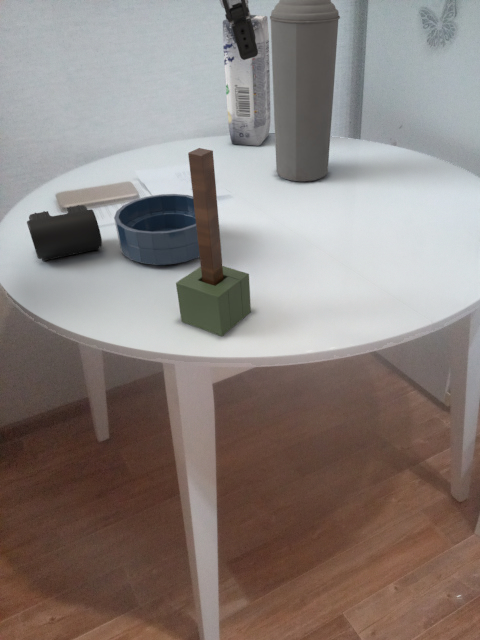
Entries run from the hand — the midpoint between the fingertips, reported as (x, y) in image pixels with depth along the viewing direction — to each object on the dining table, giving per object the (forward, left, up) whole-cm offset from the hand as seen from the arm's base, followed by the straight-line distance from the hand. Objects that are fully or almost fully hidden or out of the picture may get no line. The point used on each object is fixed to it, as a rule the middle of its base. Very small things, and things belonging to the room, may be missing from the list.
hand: (249, 49), depth 71 cm
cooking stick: (-17, -4, -29) cm, 34 cm away
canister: (+37, +13, -29) cm, 49 cm away
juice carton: (+51, +36, -29) cm, 69 cm away
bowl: (-4, +15, -29) cm, 33 cm away
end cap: (-14, +28, -29) cm, 43 cm away
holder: (-17, -4, -29) cm, 34 cm away
